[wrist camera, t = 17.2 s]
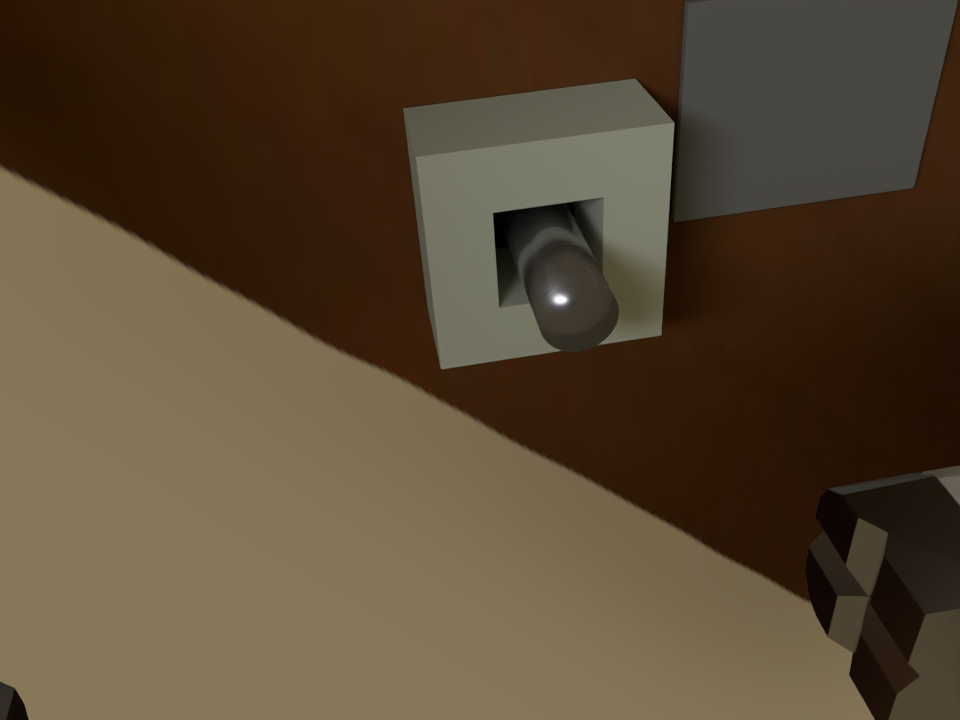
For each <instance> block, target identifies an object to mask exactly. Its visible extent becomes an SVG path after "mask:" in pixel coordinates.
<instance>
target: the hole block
mask: <svg viewBox="0 0 960 720" xmlns="http://www.w3.org/2000/svg"><path fill="white" fill-rule="evenodd" d="M403 112H404V120H405V128H406V136H407V144H408V152H409V161H410V169H411V177H412V185H413V193H414V201H415V209H416V217H417V226H418V234H419V242H420V250H421V258H422V266H423V274H424V282H425V291H426V299H427V307H428V312H429V317H430V321H431V326H432V330H433V335H434V339H435V344H436V348H437V353H438V357H439V362H440V367H441V369H447V368H453V367H460V366H466V365H473V364H479V363H486V362H492V361H499V360H505V359H511V358H518V357H524V356H531V355H537V354H544V353H550V352H557V351H562V350H559V349H556V348H554V347H552V346H551V345H550V344H548V343H547V342H546V341H545V339H544V338H543V336H542V334H541V332H540V329H539V327H538V324H537V321H536V319H535V316H534V313H533V311H532V308H531V305H530V302H529V300H528V297H527V294H526V292H525V289H524V286H523V284H522V281H521V278H520V276H519V273H518V270H517V268H516V265H515V262H514V259H513V257H512V254H511V251H510V249H509V246H508V247H501V248H495V237H494V222H493V213H496V212H503V211H510V210H517V209H524V208H531V207H538V206H546V205H553V204H560V203H567V202H574V219H575V221H576V223H577V225H578V227H579V229H580V231H581V233H582V234H583V236H584V238H585V240H586V242H587V244H588V246H589V248H590V250H591V252H592V254H593V256H594V258H595V260H596V262H597V264H598V265H599V267H600V269H601V271H602V273H603V275H604V277H605V279H606V281H607V283H608V285H609V287H610V289H611V291H612V293H613V295H614V296H615V298H616V300H617V303H618V307H619V317H618V321H617V324H616V326H615V328H614V330H613V331H612V333H611V334H610V335H609V336H608V337H607V338H606V339H605V340H604V341H603V342H601V343H600V344H598V345H602V344H608V343H615V342H621V341H627V340H634V339H640V338H647V337H653V336H660V335H661V333H662V317H663V300H664V284H665V268H666V252H667V236H668V219H669V203H670V187H671V171H672V155H673V138H674V122H673V120H672V119H671V118H670V117H669V116H668V115H667V114H666V113H665V111H664V110H663V109H662V108H661V107H660V106H659V105H658V104H657V102H656V101H655V100H654V99H653V98H652V97H651V96H650V95H649V93H648V92H647V91H646V90H645V89H644V88H643V87H642V85H641V84H640V83H639V82H638V81H637V80H636V79H629V80H621V81H613V82H606V83H598V84H590V85H582V86H574V87H567V88H559V89H551V90H543V91H535V92H528V93H520V94H512V95H504V96H496V97H489V98H481V99H473V100H465V101H457V102H450V103H442V104H434V105H426V106H418V107H411V108H403Z"/></svg>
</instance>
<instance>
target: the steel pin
mask: <svg viewBox="0 0 960 720" xmlns="http://www.w3.org/2000/svg"><path fill="white" fill-rule="evenodd" d="M496 214H497V216H498V219H499V222H500V225H501V227H502V230H503V233H504V235H505V238H506V241H507V243H508V246H509V249H510V251H511V254H512V257H513V259H514V262H515V265H516V268H517V270H518V273H519V276H520V278H521V281H522V284H523V286H524V289H525V292H526V294H527V297H528V300H529V302H530V305H531V308H532V311H533V313H534V316H535V319H536V321H537V324H538V327H539V329H540V332H541V334H542V336H543V338H544V339H545V341H546V342H547V343H548V344H550V345H551V346H552V347H554V348H556V349H559V350H562V351H567V352H578V351H584V350H587V349H590V348H592V347H595V346H596V345H598V344H600V343H601V342H603V341H604V340H605V339H606V338H607V337H608V336H609V335H610V334H611V333H612V331H613V330H614V328H615V326H616V324H617V321H618V317H619V307H618V303H617V300H616V298H615V296H614V295H613V293H612V291H611V289H610V287H609V285H608V283H607V281H606V279H605V277H604V275H603V273H602V271H601V269H600V267H599V265H598V264H597V262H596V260H595V258H594V256H593V254H592V252H591V250H590V248H589V246H588V244H587V242H586V240H585V238H584V236H583V234H582V233H581V231H580V229H579V227H578V225H577V223H576V221H575V219H574V217H573V215H572V213H571V211H570V209H569V207H568V205H567V203H560V204H553V205H546V206H538V207H531V208H524V209H517V210H510V211H503V212H496Z"/></svg>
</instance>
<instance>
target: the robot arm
mask: <svg viewBox="0 0 960 720" xmlns="http://www.w3.org/2000/svg"><path fill="white" fill-rule="evenodd" d="M815 517H816V519H817V520H818V522H819V523H820V525H821V527H822V528H823V530H824V532H823V533H822V534H821V535H820V536H819V537H818V538H817V539H816V540H815V541H814V542H813V543H812V544H811V545H810V546H809V547H808V553H807V559H806V565H805V575H806V581H807V588H808V595H809V598H810V601H811V603H812V606H813V609H814V611H815V614H816V616H817V618H818V620H819V622H820V624H821V625H822V627H823V629H824V631H825V633H826V634H827V636H828V637H829V638H830V639H832V640H834V641H835V642H837V643H838V644H840V645H841V646H843V647H845V648H846V649H848V650H849V651H851V652H853V656H852V662H851V668H850V673H849V675H850V677H851V679H852V681H853V682H854V684H855V686H856V688H857V689H858V691H859V693H860V695H861V696H862V698H863V700H864V701H865V703H866V705H867V707H868V708H869V710H870V712H871V714H872V715H873V717H874V719H875V720H960V466H954V467H948V468H943V469H937V470H931V471H925V472H922V473H917V472H916V473H910V474H905V475H900V476H894V477H889V478H883V479H878V480H873V481H867V482H862V483H857V484H851V485H846V486H840V487H835V488H830V489H827V490H826V491H825V492H824V494H823V495H822V496H821V497H820V498H819V502H818V506H817V510H816V515H815ZM0 720H28V716H27V712H26V709H25V705H24V703H23V701H22V699H21V698H20V696H19V695H18V693H17V691H16V690H15V688H13V687H11V686H8V685H6V684H4V683H2V682H0Z"/></svg>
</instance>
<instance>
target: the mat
mask: <svg viewBox="0 0 960 720" xmlns="http://www.w3.org/2000/svg"><path fill="white" fill-rule="evenodd" d="M957 3H958V0H686V1H685V12H684V28H683V43H682V59H681V75H680V91H679V106H678V122H677V138H676V153H675V169H674V185H673V200H672V216H671V219H672V220H673V221H674V222H679V221H686V220H693V219H700V218H707V217H714V216H721V215H728V214H735V213H742V212H749V211H756V210H763V209H770V208H777V207H784V206H791V205H798V204H805V203H812V202H819V201H826V200H833V199H840V198H847V197H853V196H860V195H867V194H874V193H881V192H888V191H895V190H902V189H909V188H914V185H915V181H916V177H917V172H918V168H919V164H920V160H921V155H922V151H923V147H924V143H925V138H926V134H927V130H928V126H929V122H930V117H931V113H932V109H933V105H934V100H935V96H936V92H937V88H938V83H939V79H940V75H941V71H942V67H943V62H944V58H945V54H946V50H947V45H948V41H949V37H950V33H951V28H952V24H953V20H954V16H955V12H956V7H957Z"/></svg>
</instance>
